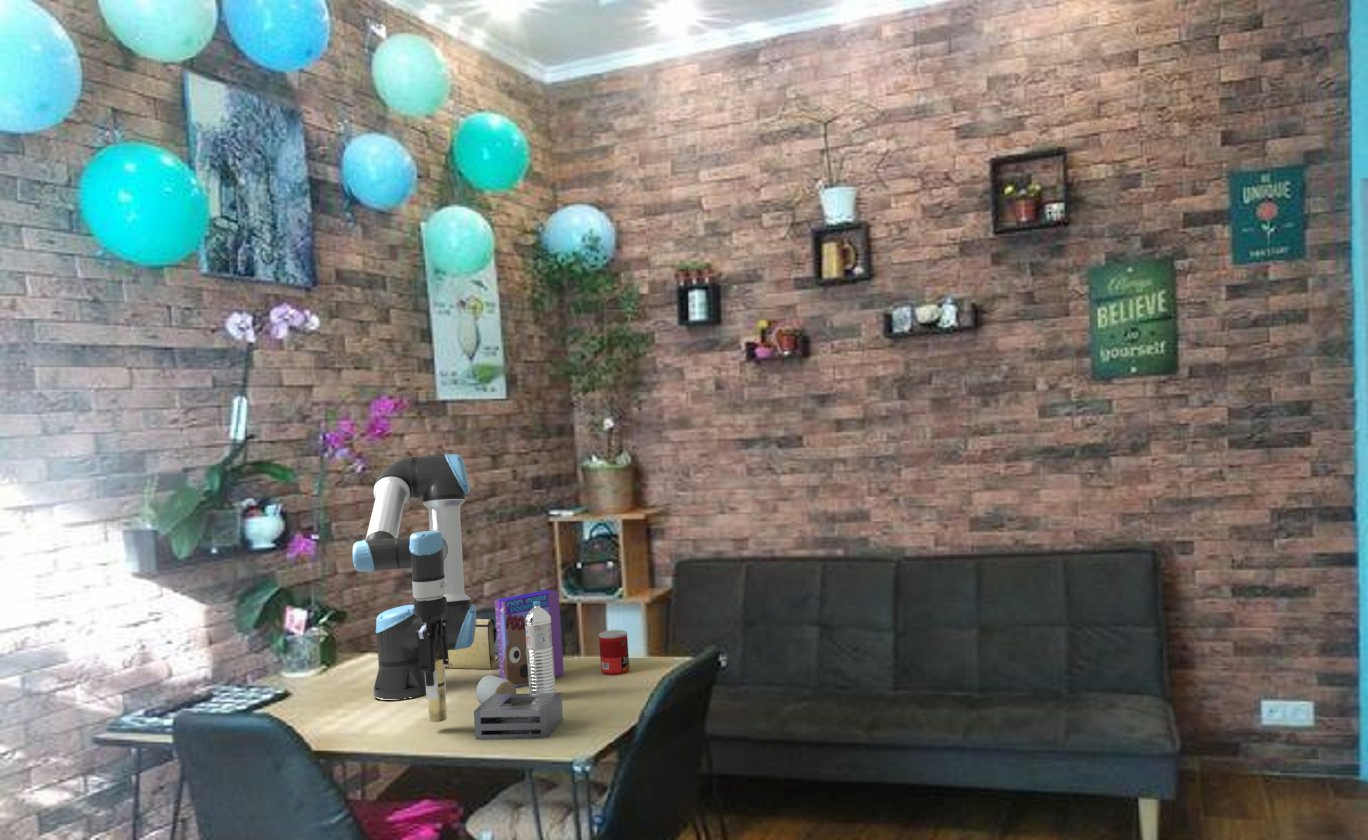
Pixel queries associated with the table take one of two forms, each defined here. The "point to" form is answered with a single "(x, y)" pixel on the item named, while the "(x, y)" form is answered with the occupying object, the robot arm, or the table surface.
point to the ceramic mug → (493, 688)
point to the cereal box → (524, 634)
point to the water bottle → (539, 650)
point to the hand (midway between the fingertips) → (436, 695)
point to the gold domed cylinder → (439, 705)
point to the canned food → (614, 652)
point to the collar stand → (518, 716)
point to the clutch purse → (477, 649)
